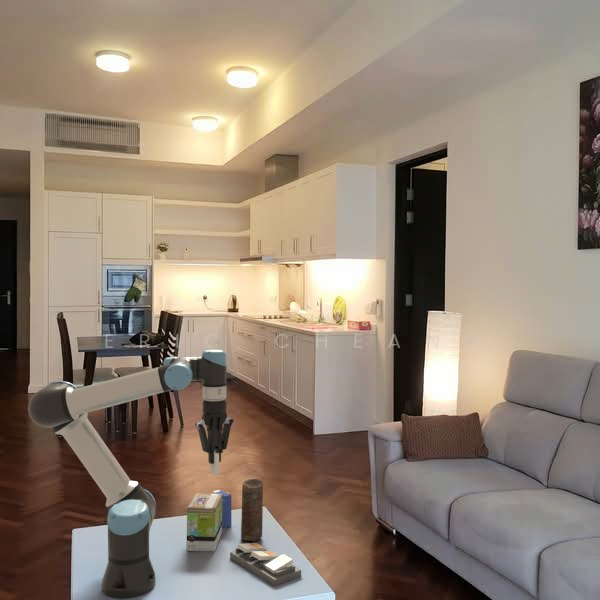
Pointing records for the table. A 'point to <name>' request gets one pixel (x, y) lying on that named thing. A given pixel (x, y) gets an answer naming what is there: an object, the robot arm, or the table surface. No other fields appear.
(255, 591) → the table surface
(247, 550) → the rocker far
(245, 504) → the brown weathered cylinder
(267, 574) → the rocker switch panel
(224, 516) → the walkman
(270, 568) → the rocker near
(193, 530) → the tea box
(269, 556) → the rocker middle
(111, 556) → the robot arm
